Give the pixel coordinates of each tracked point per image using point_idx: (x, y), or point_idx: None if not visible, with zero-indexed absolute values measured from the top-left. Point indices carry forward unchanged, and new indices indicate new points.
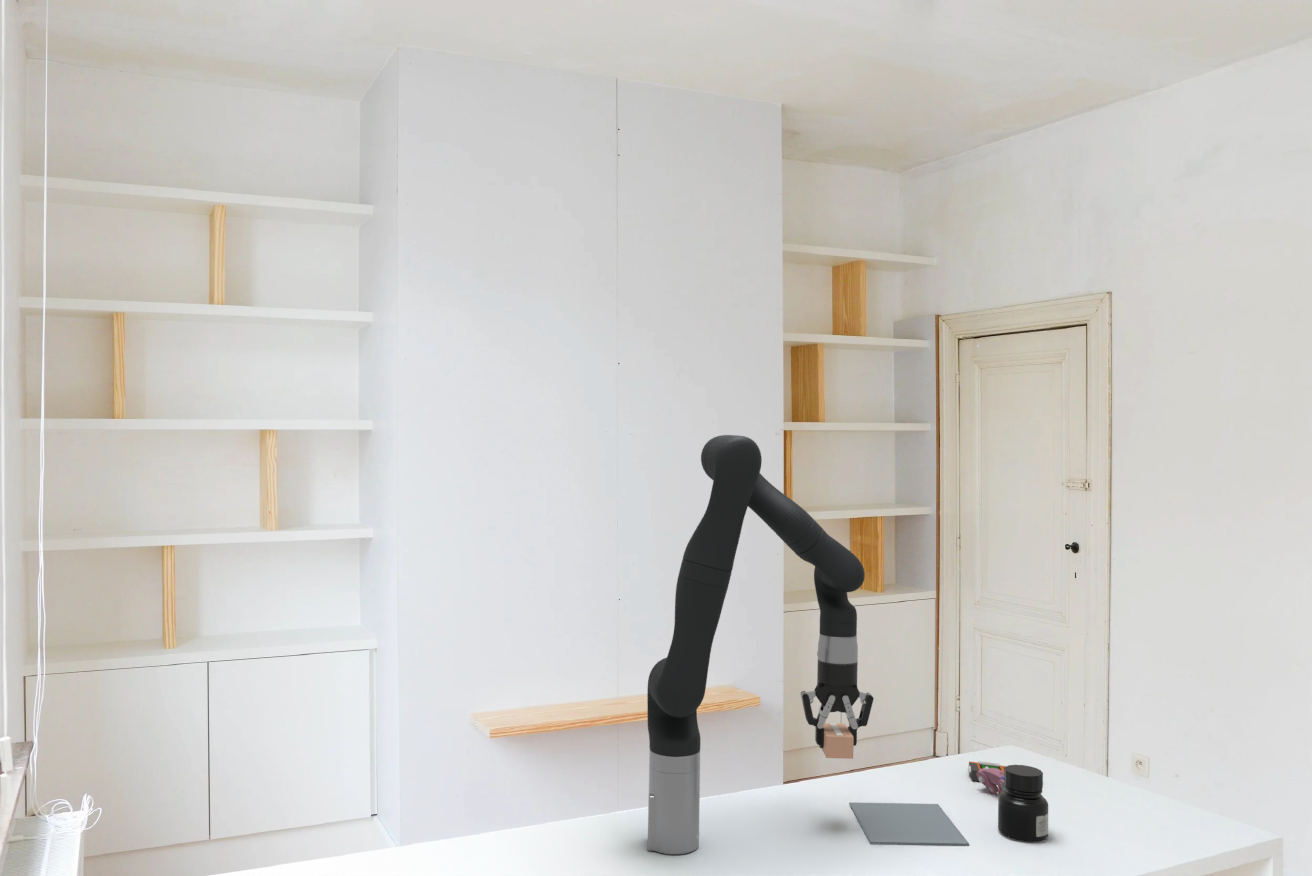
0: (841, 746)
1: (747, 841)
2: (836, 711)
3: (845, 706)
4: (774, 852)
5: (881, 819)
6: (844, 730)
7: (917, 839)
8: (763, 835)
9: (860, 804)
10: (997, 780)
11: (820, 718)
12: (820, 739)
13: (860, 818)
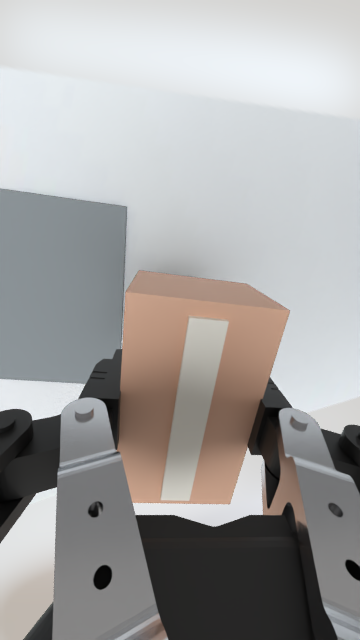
0: (194, 286)
1: (340, 240)
2: (224, 524)
3: (143, 592)
4: (316, 184)
5: (78, 312)
6: (145, 414)
7: (26, 210)
8: (303, 264)
9: None
10: None
11: (326, 459)
12: None
13: (116, 319)
